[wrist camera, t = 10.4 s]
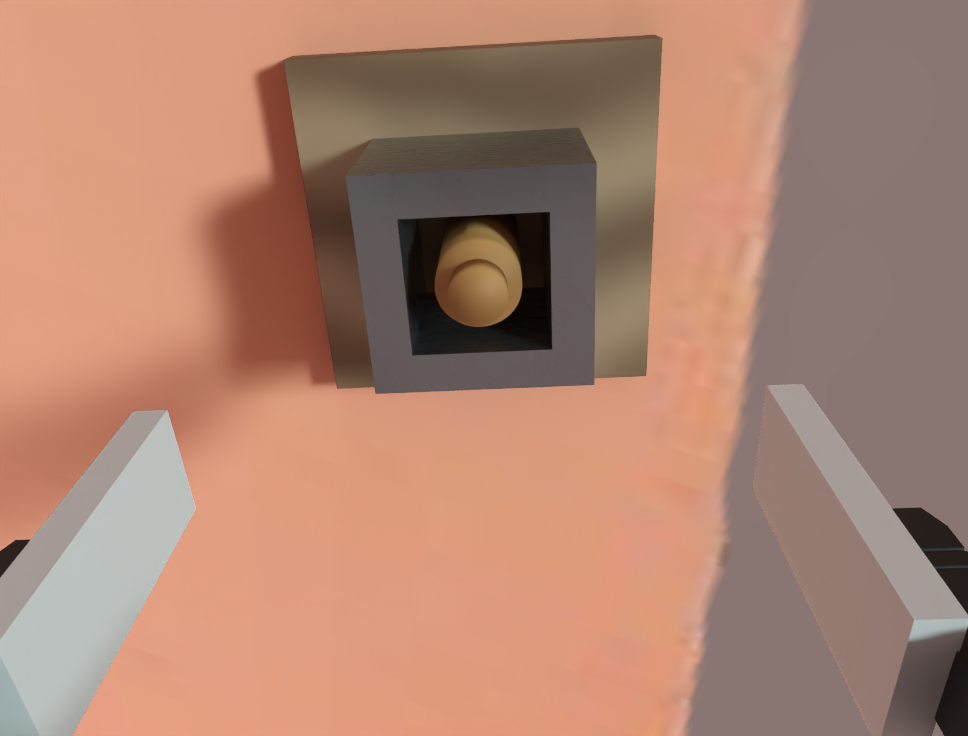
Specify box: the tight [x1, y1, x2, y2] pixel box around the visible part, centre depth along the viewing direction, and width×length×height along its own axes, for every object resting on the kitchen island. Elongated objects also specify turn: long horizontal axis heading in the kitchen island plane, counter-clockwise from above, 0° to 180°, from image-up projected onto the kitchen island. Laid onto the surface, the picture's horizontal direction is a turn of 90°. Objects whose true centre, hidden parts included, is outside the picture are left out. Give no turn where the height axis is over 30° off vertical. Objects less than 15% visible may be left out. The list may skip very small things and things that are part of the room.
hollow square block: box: [346, 128, 597, 394], centre depth 29 cm, size 8×8×6 cm
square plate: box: [283, 35, 662, 389], centre depth 29 cm, size 14×14×8 cm
